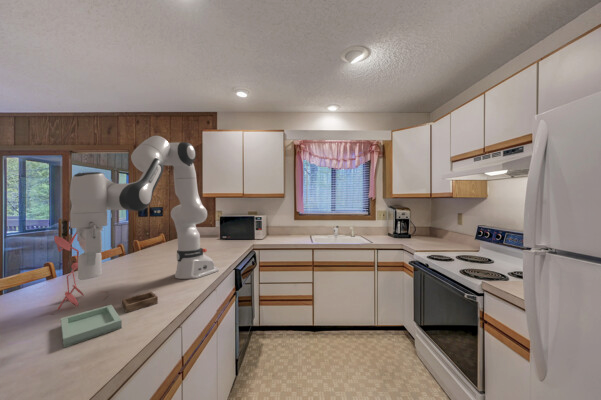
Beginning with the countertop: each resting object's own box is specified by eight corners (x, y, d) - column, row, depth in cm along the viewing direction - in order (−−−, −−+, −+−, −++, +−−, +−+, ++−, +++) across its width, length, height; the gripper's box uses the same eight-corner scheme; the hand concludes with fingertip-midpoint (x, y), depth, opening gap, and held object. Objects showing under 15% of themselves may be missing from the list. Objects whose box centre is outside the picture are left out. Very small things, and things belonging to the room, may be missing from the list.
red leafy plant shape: (45, 319, 79) (47, 218, 80) (69, 294, 101) (70, 215, 102) (103, 308, 88) (104, 217, 88) (113, 287, 109) (114, 214, 110)
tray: (60, 325, 75) (60, 318, 75) (111, 311, 85) (111, 304, 85) (63, 347, 64) (63, 338, 64) (121, 327, 74) (121, 320, 74)
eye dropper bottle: (78, 277, 74) (78, 240, 74) (101, 273, 78) (101, 238, 78) (77, 281, 71) (77, 242, 71) (101, 277, 74) (101, 240, 75)
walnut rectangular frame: (151, 297, 97) (151, 291, 97) (157, 303, 91) (157, 296, 91) (121, 305, 89) (121, 299, 89) (126, 312, 84) (126, 305, 84)
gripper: (107, 222, 70) (108, 267, 70) (97, 219, 83) (98, 256, 83) (79, 224, 65) (80, 272, 65) (73, 220, 79) (74, 260, 79)
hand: (90, 263), depth 74 cm, fingers closed on eye dropper bottle, 4 cm apart
